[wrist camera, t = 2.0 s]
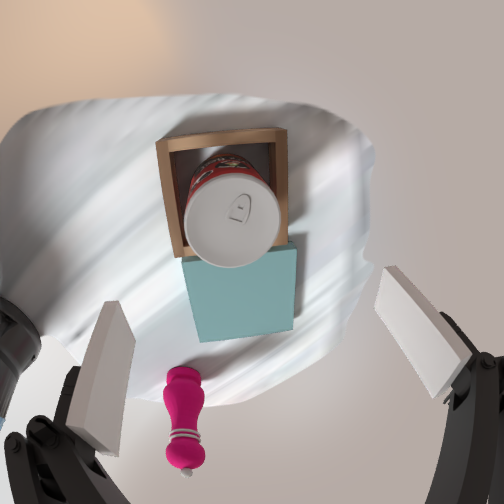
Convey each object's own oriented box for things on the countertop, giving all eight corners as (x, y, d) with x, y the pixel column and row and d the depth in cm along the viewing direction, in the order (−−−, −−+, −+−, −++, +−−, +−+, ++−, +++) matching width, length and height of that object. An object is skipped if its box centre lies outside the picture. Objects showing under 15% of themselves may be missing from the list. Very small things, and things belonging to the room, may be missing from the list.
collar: (177, 243, 33) (174, 257, 30) (161, 138, 27) (155, 142, 24) (280, 231, 35) (287, 244, 32) (278, 127, 28) (287, 129, 25)
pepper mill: (157, 378, 45) (154, 477, 28) (176, 359, 43) (176, 469, 26) (190, 390, 48) (195, 483, 31) (211, 373, 46) (221, 475, 29)
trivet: (199, 333, 41) (200, 342, 39) (182, 254, 34) (181, 262, 32) (289, 321, 43) (292, 329, 41) (292, 241, 36) (296, 248, 34)
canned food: (261, 155, 30) (289, 179, 20) (253, 220, 33) (273, 270, 24) (192, 150, 28) (185, 171, 19) (189, 218, 32) (183, 268, 22)
